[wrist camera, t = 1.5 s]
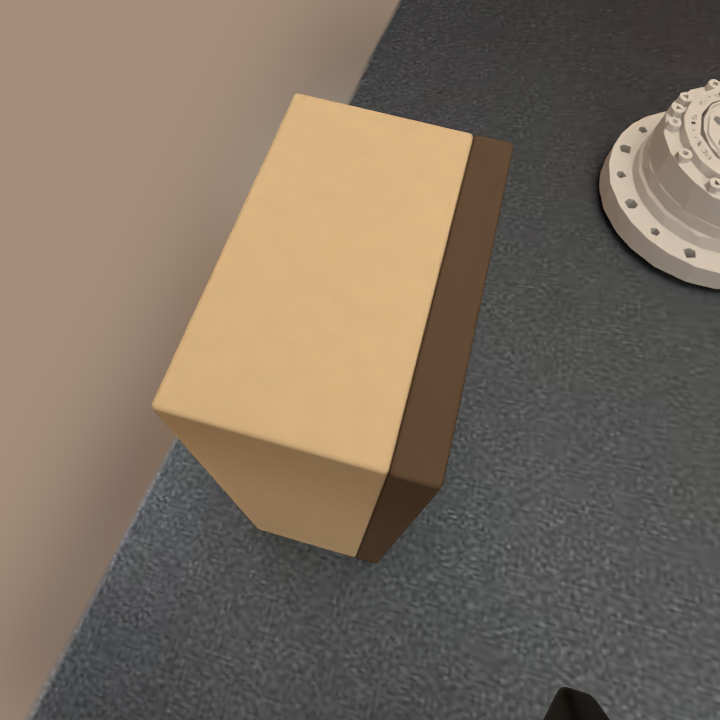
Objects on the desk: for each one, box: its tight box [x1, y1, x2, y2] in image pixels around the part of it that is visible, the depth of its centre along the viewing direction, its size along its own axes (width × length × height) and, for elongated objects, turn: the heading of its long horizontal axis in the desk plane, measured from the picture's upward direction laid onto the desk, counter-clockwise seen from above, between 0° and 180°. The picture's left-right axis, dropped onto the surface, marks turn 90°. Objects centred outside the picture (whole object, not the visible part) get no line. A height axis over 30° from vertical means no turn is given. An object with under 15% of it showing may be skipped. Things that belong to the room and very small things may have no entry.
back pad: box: [152, 94, 513, 563], centre depth 15 cm, size 4×7×13 cm, turn 165°
